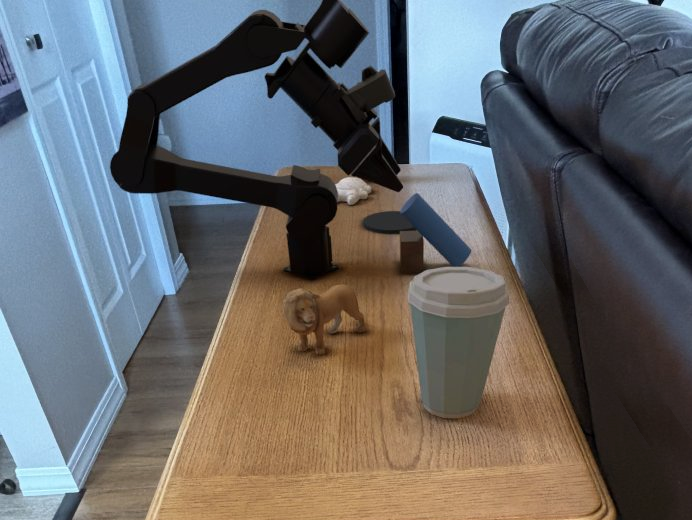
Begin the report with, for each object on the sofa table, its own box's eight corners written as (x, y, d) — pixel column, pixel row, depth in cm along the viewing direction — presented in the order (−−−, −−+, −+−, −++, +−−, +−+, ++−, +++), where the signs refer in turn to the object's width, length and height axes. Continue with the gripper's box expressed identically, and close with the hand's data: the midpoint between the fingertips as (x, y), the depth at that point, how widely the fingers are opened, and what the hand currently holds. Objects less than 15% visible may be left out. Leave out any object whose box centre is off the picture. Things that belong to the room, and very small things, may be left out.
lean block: (401, 274, 115) (400, 241, 112) (400, 262, 119) (399, 231, 116) (423, 273, 115) (423, 241, 112) (421, 262, 119) (421, 230, 116)
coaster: (398, 237, 128) (398, 234, 128) (350, 225, 134) (350, 222, 133) (435, 221, 135) (435, 218, 135) (388, 210, 140) (388, 207, 140)
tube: (401, 272, 116) (400, 197, 109) (400, 263, 119) (399, 190, 111) (471, 271, 116) (475, 196, 109) (469, 262, 119) (472, 189, 112)
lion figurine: (313, 370, 91) (306, 299, 85) (278, 360, 93) (269, 291, 87) (374, 325, 101) (372, 259, 95) (342, 317, 103) (337, 252, 97)
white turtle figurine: (317, 203, 145) (315, 186, 143) (339, 186, 153) (338, 170, 151) (358, 206, 142) (358, 189, 141) (379, 189, 151) (378, 173, 149)
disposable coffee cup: (397, 388, 87) (395, 261, 78) (483, 377, 89) (492, 252, 80) (419, 435, 79) (420, 300, 70) (514, 422, 81) (527, 289, 72)
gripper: (358, 56, 91) (445, 153, 98) (359, 38, 105) (434, 123, 113) (300, 129, 96) (387, 216, 103) (308, 102, 110) (384, 179, 117)
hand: (399, 180), depth 109 cm, fingers open, 9 cm apart
